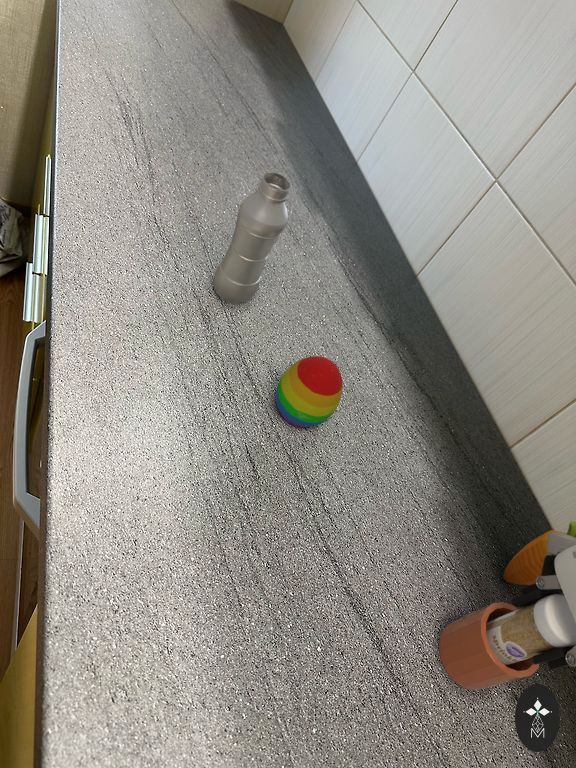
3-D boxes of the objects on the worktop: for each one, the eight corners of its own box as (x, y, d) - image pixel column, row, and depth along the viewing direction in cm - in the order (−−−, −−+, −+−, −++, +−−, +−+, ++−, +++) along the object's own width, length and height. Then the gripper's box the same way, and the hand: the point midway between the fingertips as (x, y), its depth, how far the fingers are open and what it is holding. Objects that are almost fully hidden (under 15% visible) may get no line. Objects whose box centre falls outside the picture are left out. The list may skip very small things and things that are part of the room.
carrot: (481, 564, 73) (565, 518, 62) (508, 555, 75) (593, 509, 64) (501, 603, 71) (591, 563, 59) (528, 593, 73) (620, 552, 62)
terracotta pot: (480, 618, 68) (524, 599, 62) (502, 685, 64) (552, 672, 58) (430, 624, 66) (471, 604, 60) (450, 694, 62) (496, 681, 56)
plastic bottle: (205, 275, 85) (244, 160, 70) (247, 277, 88) (293, 167, 73) (214, 308, 82) (258, 195, 67) (258, 309, 85) (308, 201, 70)
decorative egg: (301, 446, 73) (333, 404, 66) (256, 403, 75) (282, 357, 67) (336, 414, 79) (369, 372, 71) (294, 374, 80) (322, 329, 73)
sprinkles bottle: (460, 660, 61) (545, 630, 51) (465, 620, 64) (547, 584, 54) (496, 679, 62) (588, 653, 52) (500, 638, 65) (588, 606, 55)
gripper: (797, 690, 40) (599, 722, 53) (669, 470, 49) (528, 545, 63) (728, 706, 37) (538, 735, 51) (606, 469, 46) (473, 548, 60)
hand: (534, 629), depth 57 cm, fingers closed on sprinkles bottle, 4 cm apart
